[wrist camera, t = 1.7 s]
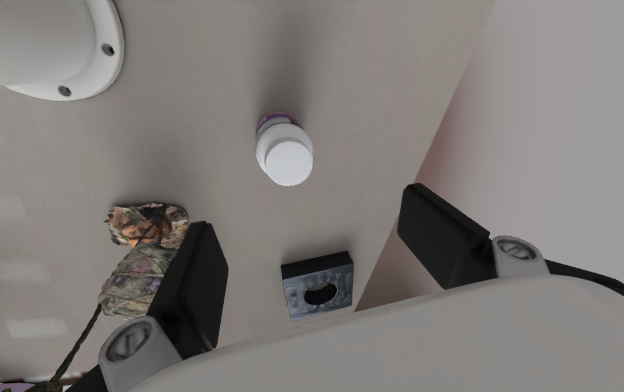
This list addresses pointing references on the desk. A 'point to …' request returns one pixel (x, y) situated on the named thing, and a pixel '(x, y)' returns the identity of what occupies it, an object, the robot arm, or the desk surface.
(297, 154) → the pill bottle
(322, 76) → the desk surface
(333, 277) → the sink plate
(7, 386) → the clip
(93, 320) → the plant with pod
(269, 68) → the desk surface
